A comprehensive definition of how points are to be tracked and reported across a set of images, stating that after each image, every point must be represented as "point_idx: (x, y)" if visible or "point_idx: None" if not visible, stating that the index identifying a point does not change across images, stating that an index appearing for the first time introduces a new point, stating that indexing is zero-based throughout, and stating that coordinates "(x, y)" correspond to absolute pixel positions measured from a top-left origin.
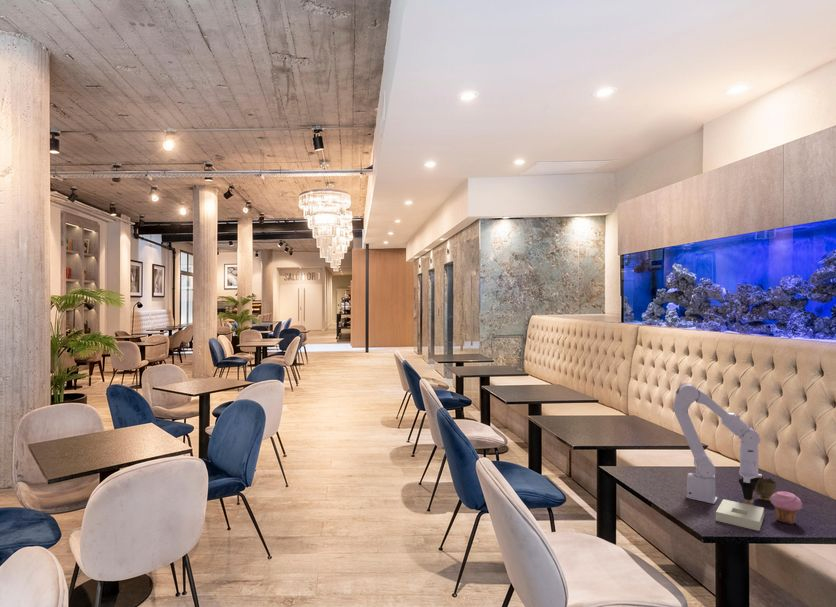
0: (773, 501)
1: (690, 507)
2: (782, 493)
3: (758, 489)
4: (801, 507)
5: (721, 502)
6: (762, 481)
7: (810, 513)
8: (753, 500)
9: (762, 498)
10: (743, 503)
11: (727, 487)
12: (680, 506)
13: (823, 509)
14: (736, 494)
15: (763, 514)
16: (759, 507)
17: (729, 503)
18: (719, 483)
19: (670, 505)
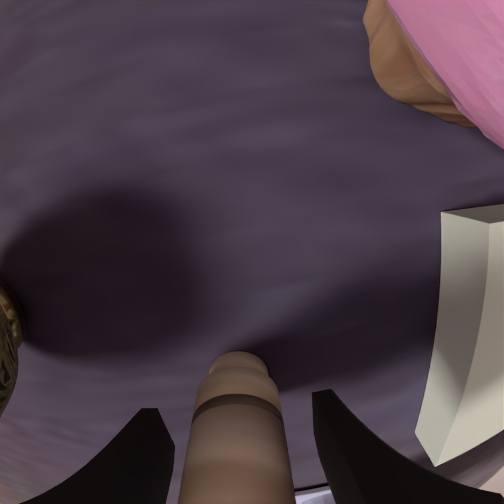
0: None
1: (473, 462)
2: None
3: (3, 393)
4: None
5: (494, 434)
6: None
7: (50, 3)
8: (233, 378)
9: (19, 326)
10: (467, 379)
11: (32, 464)
12: (474, 473)
13: None
14: (76, 445)
15: (502, 211)
16: (499, 259)
17: (497, 412)
18: (26, 478)
19: (475, 482)
